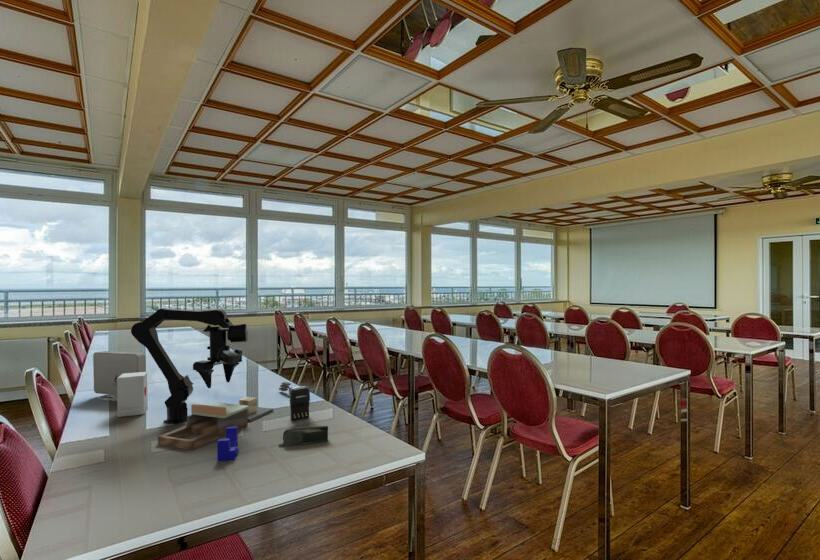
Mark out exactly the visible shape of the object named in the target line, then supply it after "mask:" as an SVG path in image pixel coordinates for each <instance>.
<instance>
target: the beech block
mask: <svg viewBox="0 0 820 560" xmlns="http://www.w3.org/2000/svg"><path fill="white" fill-rule="evenodd" d="M257 399H258V398H257V397H255V396H254V397H251V396H246V397H244V398H240V399H239V401H238V403H239V404H238V405H246V406H249V408H248V409H247V414H251V413H253V412H256V411H257V407H258V400H257Z"/></svg>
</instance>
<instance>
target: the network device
mask: <svg viewBox="0 0 820 560" xmlns="http://www.w3.org/2000/svg"><path fill="white" fill-rule="evenodd" d="M92 358H93V359H92V361H93V363H92V364H93V365H92V366H93V392H94V393H95V394H99V395H100V396H98V397H97V400H99V399H101V400H100V401H110V400H112V401H113V402H117V378H118V377H119V376H120V375H122V374H125V373H138V372H147V368H146V367H147V366H146V365H147V362H146V361H147V359H146V358H147V356H146V354H145V353H144V352H137V351H135V352H133V351H132V352H131V351H130V352H129V351H111V350H108V351H107V350H103V351H96V352H94V353H93V354H92ZM110 395H111V396H113V397H111V396H110ZM103 397H104V398H103Z"/></svg>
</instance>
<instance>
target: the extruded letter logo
mask: <svg viewBox="0 0 820 560" xmlns="http://www.w3.org/2000/svg"><path fill="white" fill-rule="evenodd" d="M291 385H292V383H291V382H289V381H288V382H287V381H285V382H281V383H280V385H279V388H278V390H279V391H281V392H287V391H288V396H289V395H290V390H291V389H292V388H294V387H293V386H292V387H290V386H291Z"/></svg>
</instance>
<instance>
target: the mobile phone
mask: <svg viewBox="0 0 820 560" xmlns="http://www.w3.org/2000/svg"><path fill="white" fill-rule="evenodd" d="M282 440H283V442H282V443H279V444H278V447H284V446H285V447H286V446H296V445H297V446H298V445H305V444H306V445H307V444H308V445H309V444H317V443H325V442H327V441H328V440H329V427H328V426H327V425H320V426H319V425H317V426H296V427H291V428H288V429H285V430H284V431H283V433H282Z"/></svg>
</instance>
